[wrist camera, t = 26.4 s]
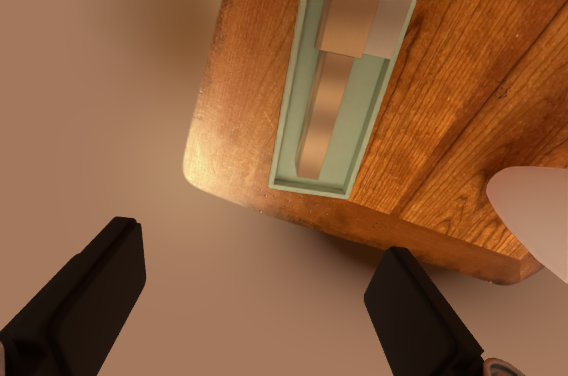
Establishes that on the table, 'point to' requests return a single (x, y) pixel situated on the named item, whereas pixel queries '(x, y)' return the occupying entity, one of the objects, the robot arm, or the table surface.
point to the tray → (350, 120)
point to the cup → (535, 211)
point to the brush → (342, 66)
